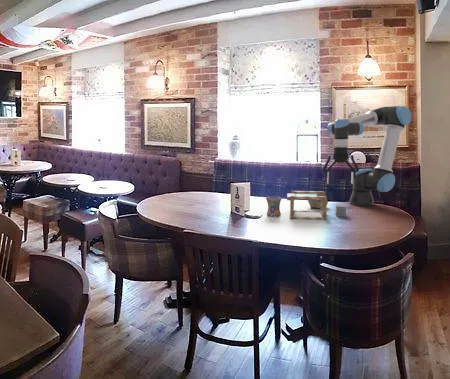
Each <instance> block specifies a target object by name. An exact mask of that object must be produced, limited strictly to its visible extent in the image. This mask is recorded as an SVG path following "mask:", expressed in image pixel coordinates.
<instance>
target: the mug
mask: <svg viewBox="0 0 450 379" xmlns="http://www.w3.org/2000/svg"><path fill="white" fill-rule="evenodd" d="M265 200H266V203H267V212H266V215H267V216H269V217H279V216H281V215H282V213H281V208H280V205H281V201H282V197H281V196H277V195H276V196H274V195H273V196H267V197H265Z"/></svg>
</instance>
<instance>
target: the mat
mask: <svg viewBox="0 0 450 379" xmlns="http://www.w3.org/2000/svg"><path fill="white" fill-rule="evenodd" d="M294 216H296V217H322V216H321V213H320V212H295V213H294Z"/></svg>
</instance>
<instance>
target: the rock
mask: <svg viewBox="0 0 450 379" xmlns="http://www.w3.org/2000/svg"><path fill="white" fill-rule="evenodd" d="M317 196H321V194H317ZM307 202H308V204H309V207H310V208H315V209H321V200H313V199H307ZM328 203H329V202H328V200H327V205H329V204H328Z"/></svg>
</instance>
